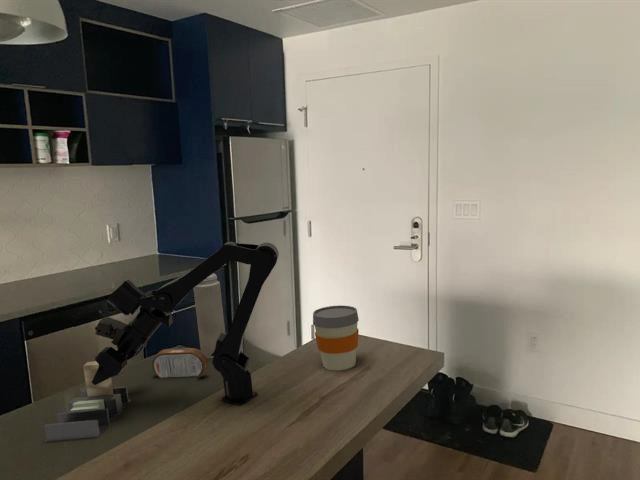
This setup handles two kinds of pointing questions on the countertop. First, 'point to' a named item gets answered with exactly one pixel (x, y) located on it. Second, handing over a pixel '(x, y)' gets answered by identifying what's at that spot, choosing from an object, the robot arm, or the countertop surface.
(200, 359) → the tin
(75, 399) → the rack
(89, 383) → the light wooden block
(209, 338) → the thermos bottle
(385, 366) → the countertop surface
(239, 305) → the robot arm
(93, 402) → the offcuts
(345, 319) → the reusable coffee cup
